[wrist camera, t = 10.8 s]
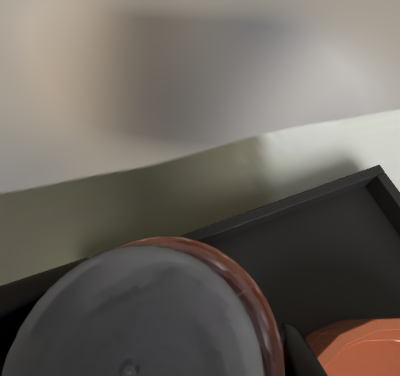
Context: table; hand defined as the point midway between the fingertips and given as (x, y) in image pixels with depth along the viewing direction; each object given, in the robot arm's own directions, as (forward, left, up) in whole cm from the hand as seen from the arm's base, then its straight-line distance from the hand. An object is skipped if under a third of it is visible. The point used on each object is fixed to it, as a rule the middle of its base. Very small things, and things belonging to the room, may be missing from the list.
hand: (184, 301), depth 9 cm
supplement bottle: (-1, +1, -7) cm, 7 cm away
